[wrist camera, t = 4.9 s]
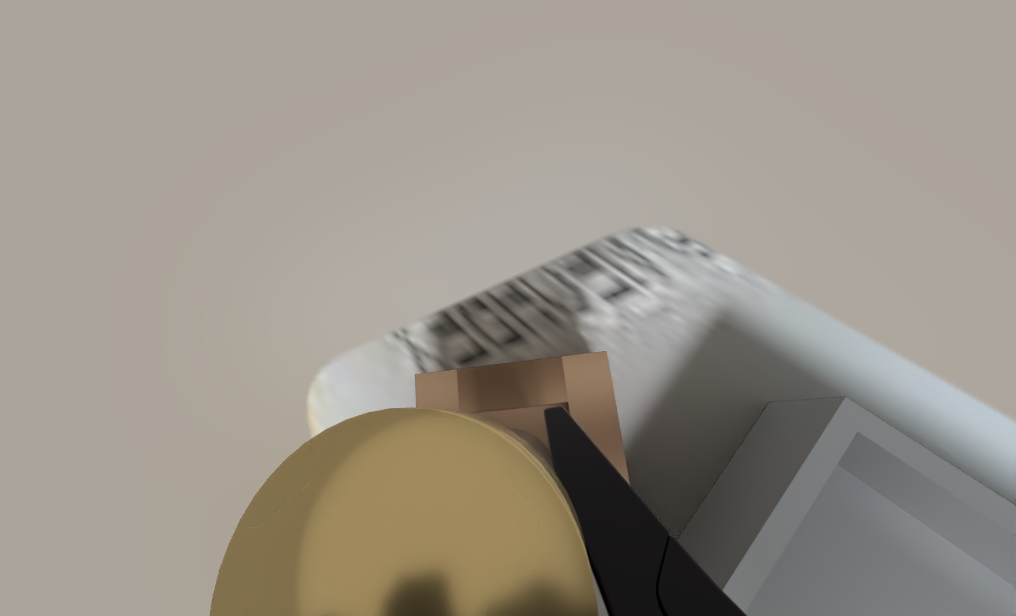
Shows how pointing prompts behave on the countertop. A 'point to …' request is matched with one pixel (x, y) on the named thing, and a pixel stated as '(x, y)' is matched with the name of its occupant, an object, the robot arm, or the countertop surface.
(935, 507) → the tray
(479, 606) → the pin
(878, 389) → the countertop surface
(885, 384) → the countertop surface
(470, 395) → the socket block
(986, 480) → the countertop surface
